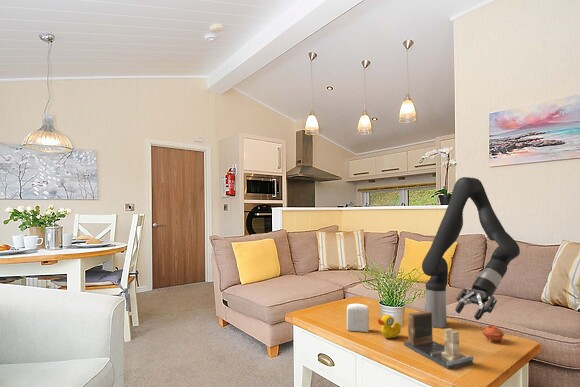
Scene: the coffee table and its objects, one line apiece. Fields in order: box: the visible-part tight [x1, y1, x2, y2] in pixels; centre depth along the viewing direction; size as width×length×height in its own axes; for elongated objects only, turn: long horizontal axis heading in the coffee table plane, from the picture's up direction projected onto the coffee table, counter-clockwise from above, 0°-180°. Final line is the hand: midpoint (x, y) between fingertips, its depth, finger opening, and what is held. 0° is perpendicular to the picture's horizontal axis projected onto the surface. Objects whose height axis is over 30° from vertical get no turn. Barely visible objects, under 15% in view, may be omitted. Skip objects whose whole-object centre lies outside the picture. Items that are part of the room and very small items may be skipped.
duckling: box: [377, 314, 401, 339], centre depth 152 cm, size 11×5×10 cm, turn 109°
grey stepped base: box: [403, 340, 474, 370], centre depth 135 cm, size 23×12×3 cm, turn 22°
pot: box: [482, 325, 504, 344], centre depth 148 cm, size 8×8×7 cm
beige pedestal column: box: [442, 328, 464, 360], centre depth 128 cm, size 5×5×10 cm
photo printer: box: [346, 303, 370, 333], centre depth 162 cm, size 10×4×12 cm, turn 81°
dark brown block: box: [407, 310, 434, 345], centre depth 143 cm, size 4×10×12 cm, turn 112°
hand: (466, 315), depth 132 cm, fingers open, 8 cm apart
